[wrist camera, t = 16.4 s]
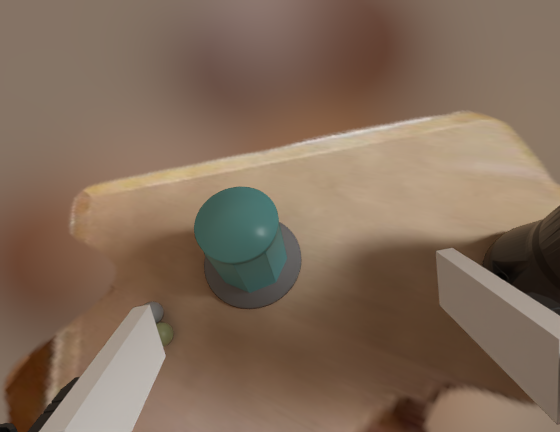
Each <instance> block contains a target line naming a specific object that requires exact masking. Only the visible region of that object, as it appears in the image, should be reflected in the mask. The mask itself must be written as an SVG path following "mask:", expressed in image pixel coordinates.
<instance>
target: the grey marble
mask: <svg viewBox="0 0 560 432" xmlns="http://www.w3.org/2000/svg"><path fill="white" fill-rule="evenodd" d="M149 304H150V307H151V310H152V314H153V317H154V320H155V323H158V322H159V321H160V320H161V319H162V317H163V313H164V311H163V308H162V306H161V305H160V304H159V303H157V302H148V303H146V304H144V305H149ZM144 305H143V306H144Z"/></svg>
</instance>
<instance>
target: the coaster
mask: <svg viewBox="0 0 560 432" xmlns="http://www.w3.org/2000/svg"><path fill="white" fill-rule="evenodd" d="M279 224H280V228H281V232H282V237H283V241H284V246H285V251H286V255H287V260H286V262H285V264H284V266H283V268H282V270H281V273H280V275H279V277H278V279H277V281H276V283H273V284H271V285H268V286H266V287H263V288H261V289H258V290H256V291H253V292H251V293H249V292H246V291H244V290H242V289H239V288H237V287H235V286H232V285H230V284H227V283H225V281H224V280H223V279H222V277H221V276H220V275H219V273H218V272H217V271H216V269H215V268H214V266H213V265H212V264H211V262H210V261H209V260H208V258H207V257H206V256H205V262H204V270H205V276H206V279H207V282H208V284H209V286H210V288H211V289H212V290H213V292H214V293H215V294H216V295H217V296H218V297H219V298H220V299H221V300H223V301H224V302H226V303H228V304H230V305H232V306H235V307H239V308H245V309H254V308H260V307H264V306H267V305H270V304H272V303H274V302H276V301H277V300H279V299H280V298H282V297H283V296H284V295H285V294H286V293H287V292H288V291H289V290H290V289H291V288H292V286H293V285H294V283H295V281H296V279H297V277H298V275H299V272H300V267H301V252H300V247H299V244H298V242H297V239H296V238H295V236H294V235H293V233H292V232H291V231H290V230H289V229H288V228H287V227H286V226H285V225H283V224H282V223H280V222H279Z"/></svg>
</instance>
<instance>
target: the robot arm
mask: <svg viewBox="0 0 560 432" xmlns="http://www.w3.org/2000/svg"><path fill="white" fill-rule="evenodd" d="M436 263H437V277H438V290H439V304H440V306H441V307H442V308H443V309H444V310H445V311H446V312H447V313H448V314H449V315H450V316H451V317H452V318H453V319H454V320H455V321H456V322H457V323H458V325H459V326H460V327H461V328H462V329H463V330H464V331H465V332H466V333H467V334H468V335H469V336H470V337H471V338H472V339H473V340H474V341H475V342H476V343H477V344H478V345H479V346H480V347H481V348H482V349H483V350H484V351H485V352H486V353H487V354H488V355H489V356H490V357H491V358H492V359H493V360H494V361H495V362H496V363H497V364H498V365H499V366H500V367H501V368H502V369H503V370H504V371H505V372H506V373H507V374H508V375H509V376H510V377H511V378H512V379H513V380H514V381H515V382H516V383H517V384H518V385H519V386H520V387H521V388H522V389H523V390H524V392H525V393H526V394H527V395H528V396H529V397H530V398H531V399H532V400H533V401H534V402H535V403H536V404H537V405H538V406H539V407H540V408H541V409H542V410H543V411H544V412H545V413H546V414H547V415H548V416H549V417H550V418H551V419H552V420H553V421H554V422H555V423H556V424H560V206H558V207H557V208H556V209H555V210H554V211H552V212H551V213H550V214H549V215H548V216H547V217H546V218H544V219H543V220H539V221H536V222H532V223H529V224H526V225H522V226H519V227H516V228H514V229H512V230H510V231H508V232H506V233H505V234H503V235H502V236H501V237H500V238H499V239H498V240H497V241H496V242H495V243H494V244H493V245H492V246H491V247H490V248H489V250H488V251H487V253H486V255H485V258H484V262H483V267H482V266H480V265H479V264H477V263H476V262H474V261H472V260H471V259H469V258H468V257H466V256H465V255H463V254H461V253H460V252H458V251H457V250H455V249H454V248H449V249H443V250H438V251H436ZM165 357H166V355H165V352H164V349H163V346H162V342H161V339H160V336H159V333H158V330H157V326H156V323H155V320H154V317H153V314H152V310H151V307H150V304H149V305H144V306H138V307H133V308H132V310H131V311H130V312H129V314H128V315H127V316H126V317H125V319H124V320H123V321H122V323H121V324H120V325H119V327H118V328H117V329H116V331H115V332H114V333H113V335H112V336H111V337H110V339H109V340H108V341H107V343H106V344H105V345H104V346H103V348H102V349H101V350H100V352H99V353H98V354H97V356H96V357H95V358H94V360H93V361H92V362H91V364H90V365H89V366H88V368H87V369H86V370H85V372H84V373H83V374H82V375H81V377H77V378H74V379H73V380H72V381H71V382H70V383H68V384H67V385H66V386H65V387H64V388H62V389H61V390H60V392H59V393H58V394H57V395H56V397H55V398H54V399H53V400H52V403H51V404H49V405H48V407H47V408H46V409H45V410H44V413H43V414H41V415H40V417H39V418H38V419H37V421H36V422H35V423H34V424H33V426H32V427H31V428H30V429H29V431H28V432H132V430H133V428H134V426H135V423H136V421H137V419H138V417H139V414H140V412H141V410H142V408H143V406H144V403H145V401H146V399H147V397H148V394H149V392H150V390H151V388H152V386H153V383H154V381H155V379H156V377H157V374H158V372H159V370H160V368H161V366H162V363H163V361H164V359H165ZM0 432H18V431H17V429H16V427H15V426H14V425H13V424H11V423H4V424H0Z"/></svg>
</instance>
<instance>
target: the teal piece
mask: <svg viewBox="0 0 560 432" xmlns="http://www.w3.org/2000/svg"><path fill="white" fill-rule="evenodd" d="M194 233H195V237H196V240H197V243H198V244H199V246H200V247H201V249H202V250H203V251H204V254H205V256H206V257H207V258H208V260H209V261H210V262H211V264H212V265H213V266H214V268H215V269H216V271H217V272H218V273H219V275H220V276H221V277H222V279H223V280H224V281H225V283H227V284H230V285H232V286H235V287H237V288H239V289H242V290H244V291H246V292H249V293H251V292H253V291H256V290H258V289H261V288H263V287H266V286H268V285H271V284H273V283H276V281H277V279H278V277H279V275H280V273H281V270H282V268H283V266H284V264H285V262H286V260H287V255H286V251H285V246H284V241H283V237H282V232H281V228H280V224H279V218H278V213H277V210H276V207H275V205H274V203H273V202H272V200H271V199H270V198H269V197H268V196H267V195H266V194H264V193H263V192H261V191H259V190H257V189H254V188H250V187H233V188H228V189H225V190H223V191H220V192H218V193H217V194H215V195H213V196H212V197H211V198H209V199H208V200H207V201H206V202H205V203H204V204H203V206H202V207H201V208H200V210H199V212H198V214H197V216H196V220H195V225H194Z"/></svg>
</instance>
